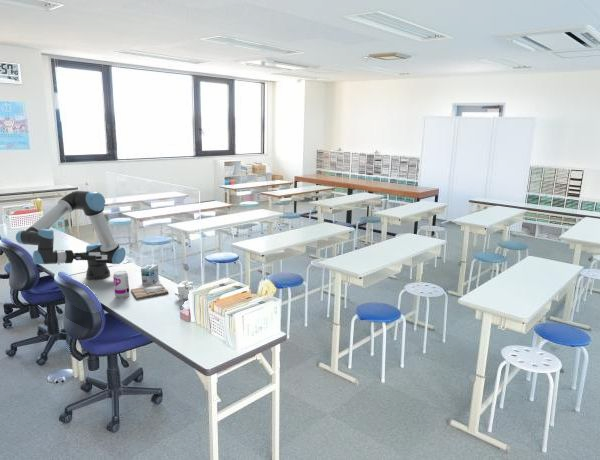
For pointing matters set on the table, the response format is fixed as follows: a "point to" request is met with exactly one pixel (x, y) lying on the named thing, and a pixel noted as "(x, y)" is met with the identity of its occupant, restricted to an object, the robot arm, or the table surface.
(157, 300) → the table surface
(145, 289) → the gear board
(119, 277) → the supplement can
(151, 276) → the light bulb box
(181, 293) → the mechanical part
